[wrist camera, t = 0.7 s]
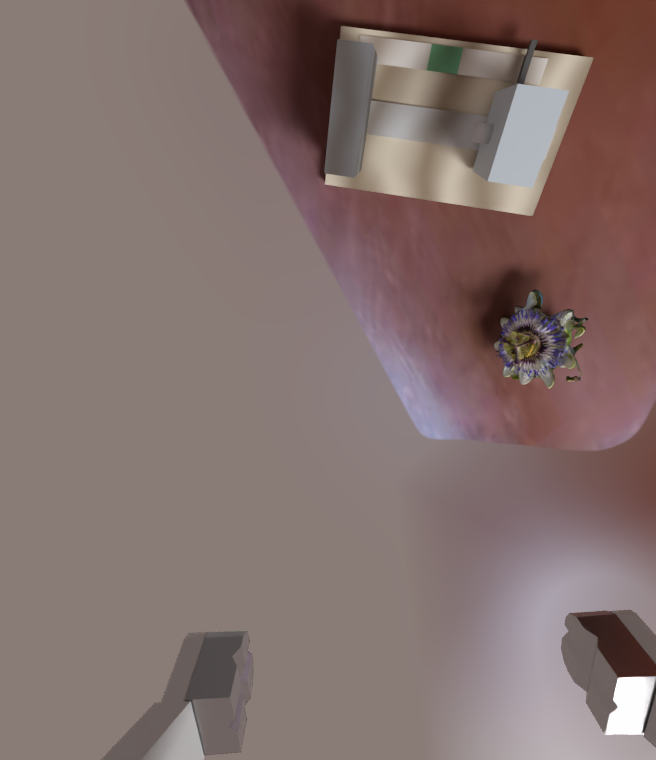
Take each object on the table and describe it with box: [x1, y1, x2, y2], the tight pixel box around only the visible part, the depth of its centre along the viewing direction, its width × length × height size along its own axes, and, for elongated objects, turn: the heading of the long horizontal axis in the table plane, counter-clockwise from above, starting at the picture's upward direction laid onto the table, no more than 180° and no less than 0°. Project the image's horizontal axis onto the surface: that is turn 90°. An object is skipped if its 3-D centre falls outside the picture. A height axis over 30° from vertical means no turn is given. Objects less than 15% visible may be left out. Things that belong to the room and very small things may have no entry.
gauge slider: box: [472, 40, 569, 188], centre depth 35 cm, size 6×11×9 cm, turn 174°
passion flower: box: [494, 290, 588, 388], centre depth 50 cm, size 11×11×12 cm
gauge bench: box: [324, 26, 593, 216], centre depth 38 cm, size 24×14×10 cm, turn 83°
